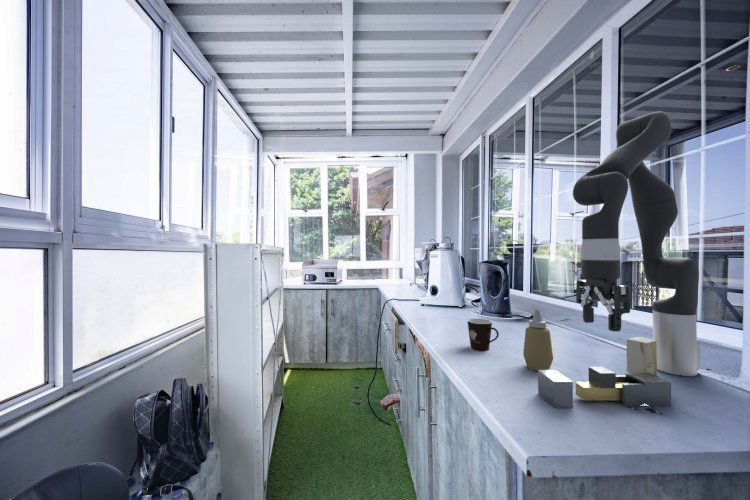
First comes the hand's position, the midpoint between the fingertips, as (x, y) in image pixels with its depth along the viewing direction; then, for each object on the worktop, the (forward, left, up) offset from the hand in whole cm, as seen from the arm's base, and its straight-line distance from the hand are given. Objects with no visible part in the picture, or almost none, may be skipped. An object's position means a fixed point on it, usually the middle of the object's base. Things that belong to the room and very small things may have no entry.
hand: (600, 326), depth 73 cm
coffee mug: (+16, -38, -18) cm, 45 cm away
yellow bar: (-4, 0, -18) cm, 18 cm away
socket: (+11, 0, -18) cm, 21 cm away
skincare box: (-16, -8, -18) cm, 25 cm away
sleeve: (-9, 0, -18) cm, 20 cm away
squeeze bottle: (+5, -20, -18) cm, 27 cm away
